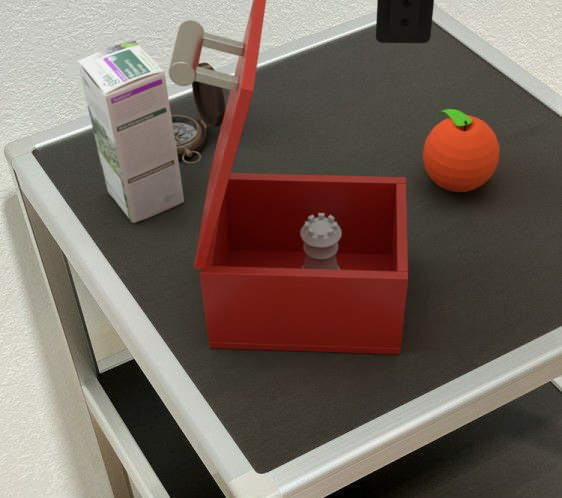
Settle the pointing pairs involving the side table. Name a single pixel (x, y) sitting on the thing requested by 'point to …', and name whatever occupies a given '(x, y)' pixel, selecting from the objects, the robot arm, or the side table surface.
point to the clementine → (460, 152)
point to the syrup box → (133, 129)
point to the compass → (211, 112)
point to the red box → (307, 282)
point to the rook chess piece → (320, 242)
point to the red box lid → (236, 110)
